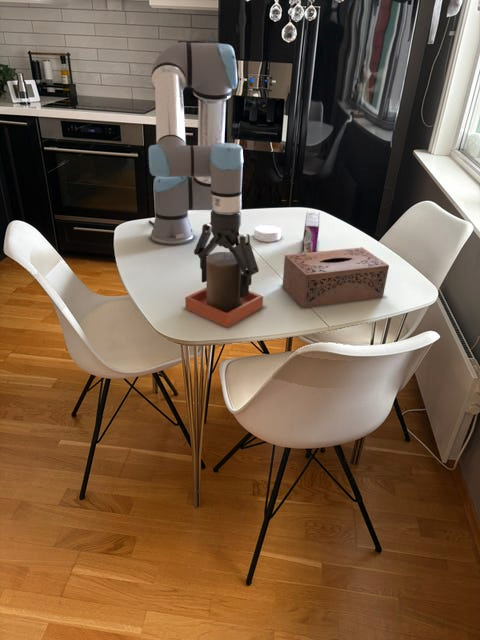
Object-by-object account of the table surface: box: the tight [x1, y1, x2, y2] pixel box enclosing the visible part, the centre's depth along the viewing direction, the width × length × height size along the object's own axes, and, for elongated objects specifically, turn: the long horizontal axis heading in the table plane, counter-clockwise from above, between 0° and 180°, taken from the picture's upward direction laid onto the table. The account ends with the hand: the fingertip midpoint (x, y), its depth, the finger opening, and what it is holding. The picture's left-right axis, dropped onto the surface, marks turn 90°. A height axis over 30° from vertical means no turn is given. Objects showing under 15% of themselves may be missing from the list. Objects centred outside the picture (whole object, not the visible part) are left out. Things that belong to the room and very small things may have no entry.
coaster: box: [253, 224, 282, 243], centre depth 181 cm, size 10×10×4 cm
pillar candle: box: [205, 251, 243, 313], centre depth 128 cm, size 10×10×15 cm
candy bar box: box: [301, 211, 321, 253], centre depth 171 cm, size 11×5×16 cm
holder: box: [184, 287, 264, 328], centre depth 132 cm, size 15×15×4 cm
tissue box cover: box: [282, 247, 390, 309], centre depth 141 cm, size 26×14×10 cm, turn 108°
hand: (224, 288), depth 130 cm, fingers open, 13 cm apart
